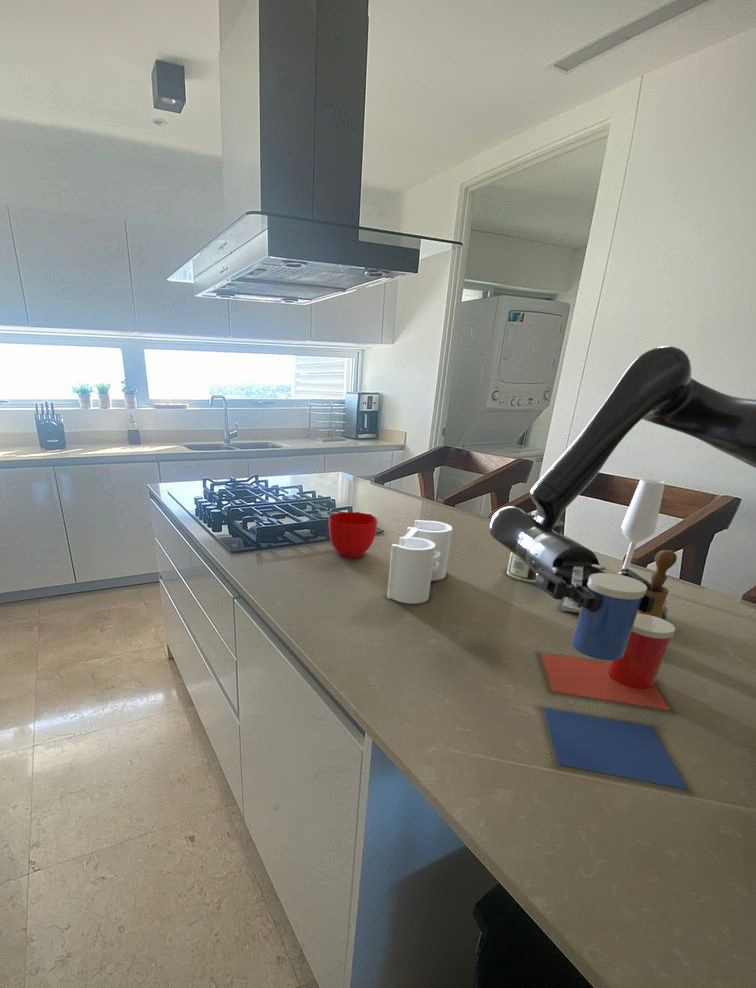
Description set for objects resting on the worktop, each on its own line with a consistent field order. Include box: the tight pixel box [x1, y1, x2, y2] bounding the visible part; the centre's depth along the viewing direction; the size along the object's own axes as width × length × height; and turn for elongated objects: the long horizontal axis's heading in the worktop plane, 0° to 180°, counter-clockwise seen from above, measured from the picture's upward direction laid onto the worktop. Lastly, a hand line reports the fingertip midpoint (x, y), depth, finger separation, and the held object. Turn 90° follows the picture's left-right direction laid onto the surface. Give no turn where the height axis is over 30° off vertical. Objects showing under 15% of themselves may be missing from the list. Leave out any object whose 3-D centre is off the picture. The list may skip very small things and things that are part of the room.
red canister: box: [608, 614, 676, 689], centre depth 77 cm, size 7×7×10 cm
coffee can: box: [506, 514, 565, 584], centre depth 118 cm, size 10×10×14 cm
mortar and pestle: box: [638, 549, 678, 618], centre depth 86 cm, size 7×6×18 cm
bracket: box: [386, 519, 453, 605], centre depth 112 cm, size 25×10×12 cm, turn 154°
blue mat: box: [543, 707, 689, 790], centre depth 64 cm, size 14×12×1 cm
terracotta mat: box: [540, 653, 671, 711], centre depth 78 cm, size 16×12×1 cm
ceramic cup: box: [328, 511, 378, 559], centre depth 133 cm, size 13×17×10 cm
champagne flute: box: [618, 478, 666, 574], centre depth 114 cm, size 7×7×24 cm
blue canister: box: [571, 573, 647, 661], centre depth 65 cm, size 7×7×10 cm
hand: (623, 605), depth 62 cm, fingers closed on blue canister, 6 cm apart
